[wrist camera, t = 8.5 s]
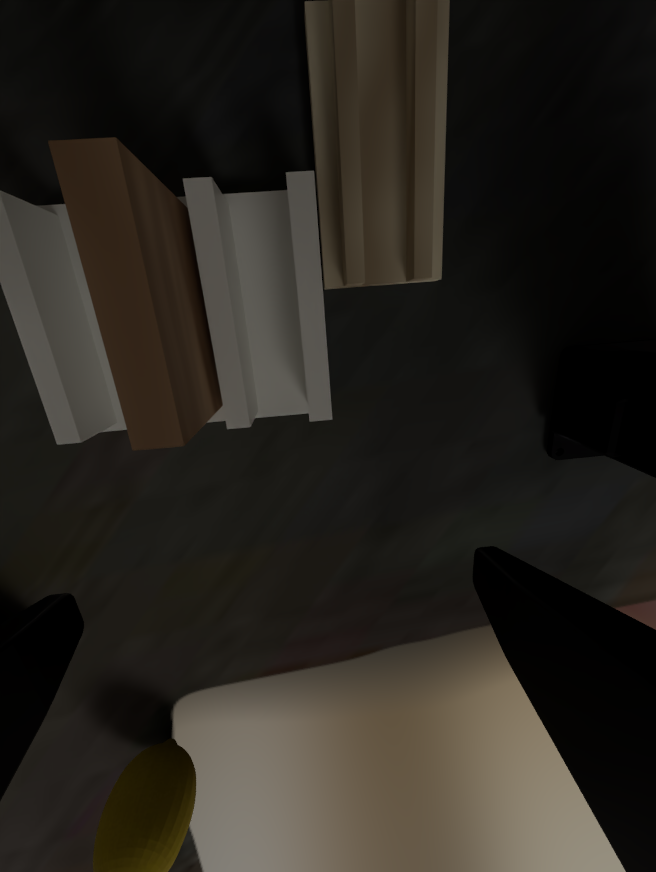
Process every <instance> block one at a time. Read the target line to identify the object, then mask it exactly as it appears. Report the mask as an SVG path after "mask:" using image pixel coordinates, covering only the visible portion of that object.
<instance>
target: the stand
mask: <svg viewBox="0 0 656 872" xmlns="http://www.w3.org/2000/svg"><path fill="white" fill-rule="evenodd" d="M449 2H450V0H327V1H305V14H304V19H305V33H306V47H307V61H308V75H309V88H310V102H311V116H312V130H313V144H314V157H315V171H316V185H317V199H318V213H319V226H320V240H321V254H322V268H323V282H324V289H336V288H349V287H363V286H376V285H389V284H402V283H416V282H429V281H437V280H440V279H441V277H442V243H443V209H444V174H445V140H446V105H447V71H448V37H449Z"/></svg>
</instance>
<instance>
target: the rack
mask: <svg viewBox="0 0 656 872" xmlns="http://www.w3.org/2000/svg"><path fill="white" fill-rule="evenodd" d="M286 180H287V190H280V191H265V192H249V193H233V194H222V193H221V191H220V189H219V188H218V186H217V185H216V183H215V182H214V180H213V178H212V177H201V178H184V179H183V183H184V189H185V195H186V196H185V197H177V198H178V199H179V200H180V201H181V202H182V203H183V204H184V205H185V206H186V207H187V208H188V211H189V217H190V223H191V228H192V234H193V240H194V245H195V251H196V256H197V262H198V268H199V273H200V279H201V284H202V290H203V296H204V301H205V307H206V313H207V318H208V324H209V329H210V335H211V341H212V346H213V352H214V357H215V363H216V369H217V374H218V380H219V386H220V391H221V397H222V402H223V406H222V407H221V408H220V409H219V410H218V411H217V412H216V413H215V414H214V415H213V416H212V417H211V418H210V420H209V421H208V422H217V421H226V425H227V429H234V428H245V427H251V425H252V423H253V421H254V419H255V418H261V417H272V416H283V415H294V414H305V413H309V420H310V422H311V421H322V420H332V409H331V395H330V382H329V368H328V355H327V341H326V327H325V314H324V300H323V287H322V273H321V260H320V246H319V232H318V219H317V205H316V192H315V178H314V171H300V172H286ZM0 283H1V286H2V289H3V291H4V294H5V297H6V300H7V303H8V306H9V309H10V311H11V314H12V317H13V320H14V323H15V326H16V328H17V331H18V334H19V337H20V340H21V343H22V346H23V348H24V351H25V354H26V357H27V360H28V363H29V366H30V368H31V371H32V374H33V377H34V380H35V383H36V385H37V388H38V391H39V394H40V397H41V400H42V403H43V405H44V408H45V411H46V414H47V417H48V420H49V422H50V425H51V428H52V431H53V434H54V437H55V440H56V442H57V445H59V444H70V443H81V442H83V441H85V440H87V439H89V438H90V437H92V436H94V435H96V434H98V433H100V432H106V431H117V430H127V428H126V424H125V420H124V417H123V413H122V409H121V406H120V402H119V398H118V395H117V391H116V387H115V384H114V380H113V377H112V373H111V369H110V366H109V362H108V358H107V355H106V351H105V347H104V344H103V340H102V336H101V333H100V329H99V325H98V322H97V318H96V314H95V311H94V307H93V304H92V300H91V296H90V293H89V289H88V285H87V282H86V278H85V274H84V271H83V267H82V263H81V260H80V256H79V252H78V249H77V245H76V242H75V238H74V234H73V231H72V227H71V223H70V220H69V216H68V212H67V209H66V205H65V204H58V205H42V206H35V205H33V204H30V203H28V202H26V201H24V200H21V199H19V198H17V197H14V196H12V195H10V194H7V193H5V192H3V191H1V190H0Z"/></svg>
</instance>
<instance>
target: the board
mask: <svg viewBox="0 0 656 872" xmlns="http://www.w3.org/2000/svg"><path fill="white" fill-rule="evenodd" d="M48 143H49V147H50V150H51V154H52V158H53V161H54V165H55V169H56V172H57V176H58V179H59V183H60V187H61V190H62V194H63V198H64V201H65V205H66V209H67V212H68V216H69V220H70V223H71V227H72V231H73V234H74V238H75V242H76V245H77V249H78V252H79V256H80V260H81V263H82V267H83V271H84V274H85V278H86V282H87V285H88V289H89V293H90V296H91V300H92V304H93V307H94V311H95V314H96V318H97V322H98V325H99V329H100V333H101V336H102V340H103V344H104V347H105V351H106V355H107V358H108V362H109V366H110V369H111V373H112V377H113V380H114V384H115V387H116V391H117V395H118V398H119V402H120V406H121V409H122V413H123V417H124V420H125V424H126V428H127V431H128V435H129V439H130V442H131V446H132V449H133V451H134V450H145V449H156V448H167V447H178V446H185V445H186V444H187V443H188V441H189V440H190V439H191V438H192V437H193V436H194V435H195V434H196V433H197V432H198V431H199V430H200V429H201V428H202V427H203V426H204V425H205V424H206V423H207V422H208V421H209V420H210V418H211V417H212V416H213V415H214V414H215V413H216V412H217V411H218V410H219V409H220V408H221V407H222V406H223V402H222V397H221V391H220V386H219V380H218V374H217V369H216V363H215V357H214V352H213V346H212V341H211V335H210V329H209V324H208V318H207V313H206V307H205V301H204V296H203V290H202V284H201V279H200V273H199V268H198V262H197V256H196V251H195V245H194V240H193V234H192V228H191V223H190V217H189V211H188V208H187V207H186V206H185V205H184V204H183V203H182V202H181V201H180V200H179V199H178V198H177V197H176V196H175V195H174V194H173V193H172V192H171V191H170V190H169V189H168V188H167V187H166V186H165V185H164V184H163V183H162V182H161V181H160V180H159V179H158V178H157V177H156V176H155V175H154V174H153V173H152V172H151V171H150V170H149V169H148V168H147V167H145V166H144V165H143V164H142V163H141V162H140V161H139V160H138V159H137V158H136V157H135V156H134V155H133V154H132V153H131V152H130V151H129V150H128V149H127V148H126V147H125V146H124V145H123V144H122V143H121V142H120V141H119V140H118V139H117V138H116V137H112V138H93V139H74V140H54V141H48Z"/></svg>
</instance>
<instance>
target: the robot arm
mask: <svg viewBox="0 0 656 872" xmlns="http://www.w3.org/2000/svg"><path fill="white" fill-rule="evenodd" d="M572 352H573V354H574V355H573V358H572V359H571V360H570V355H571V353H572ZM557 449H559V451H558V452H557V453H555V452H556V450H557ZM547 454H548V456H550V457H552V458H553V459H555V460H563V459H573V458H583V457H593V456H603V455H605V456H607V457H610V458H612V459H614V460H617V461H619V462H621V463H623V464H626V465H628V466H630V467H632V468H635V469H637V470H639V471H641V472H644V473H646V474H648V475H650V476H653V477H655V478H656V339H648V340H636V341H625V342H613V343H601V344H589V345H577V346H569V347H566V348H565V349H564V350H563V351H562V352H561V355H560V361H559V368H558V375H557V382H556V388H555V394H554V401H553V409H552V416H551V423H550V432H549V439H548V446H547ZM473 583H474V587H475V589H476V592H477V594H478V596H479V599H480V601H481V603H482V605H483V608H484V610H485V612H486V614H487V617H488V619H489V621H490V623H491V626H492V628H493V630H494V632H495V634H496V637H497V639H498V641H499V644H500V646H501V648H502V650H503V652H504V654H505V656H506V658H507V660H508V662H509V664H510V666H511V668H512V669H513V671H514V673H515V675H516V677H517V678H518V680H519V682H520V684H521V685H522V687H523V689H524V691H525V693H526V694H527V696H528V698H529V700H530V701H531V703H532V705H533V707H534V709H535V710H536V712H537V714H538V716H539V717H540V719H541V721H542V723H543V725H544V726H545V728H546V730H547V732H548V733H549V735H550V737H551V739H552V741H553V742H554V744H555V746H556V748H557V750H558V751H559V753H560V755H561V757H562V758H563V760H564V762H565V764H566V766H567V767H568V769H569V771H570V773H571V775H572V776H573V778H574V780H575V782H576V783H577V785H578V787H579V789H580V791H581V792H582V794H583V796H584V798H585V799H586V801H587V803H588V805H589V807H590V808H591V810H592V812H593V814H594V816H595V817H596V819H597V821H598V823H599V825H600V826H601V828H602V830H603V832H604V833H605V835H606V837H607V838H608V840H609V842H610V844H611V846H612V848H613V849H614V851H615V853H616V855H617V857H618V858H619V860H620V862H621V864H622V865H623V867H624V869H625V871H626V872H656V630H655V629H653V628H651V627H649V626H647V625H645V624H643V623H641V622H639V621H637V620H636V619H633V618H632V617H630V616H628V615H626V614H624V613H622V612H620V611H618V610H616V609H614V608H612V607H611V606H609V605H607V604H605V603H603V602H601V601H599V600H597V599H595V598H593V597H591V596H589V595H587V594H586V593H584V592H582V591H580V590H578V589H576V588H574V587H572V586H570V585H568V584H566V583H564V582H562V581H560V580H559V579H557V578H555V577H553V576H551V575H549V574H547V573H545V572H543V571H541V570H539V569H537V568H535V567H534V566H532V565H530V564H528V563H526V562H524V561H522V560H520V559H518V558H516V557H514V556H512V555H510V554H508V553H507V552H505V551H503V550H501V549H499V548H497V547H494V546H490V547H481V548H477V549H476V550H475V554H474V565H473ZM83 629H84V621H83V618H82V616H81V613H80V611H79V608H78V606H77V603H76V601H75V598H74V596H73V595H71V594H69V593H63V594H54V595H49V596H47V597H45V598H43V599H42V600H40V601H38V602H37V603H35V604H33V605H32V606H30V607H28V608H27V609H25V610H23V611H22V612H20V613H18V614H17V615H15V616H13V617H12V618H10V619H8V620H7V621H5V622H3V623H2V624H0V801H1V799H2V797H3V795H4V793H5V791H6V790H7V788H8V786H9V784H10V782H11V780H12V778H13V777H14V775H15V773H16V771H17V769H18V767H19V765H20V764H21V762H22V760H23V758H24V756H25V754H26V752H27V750H28V749H29V747H30V745H31V743H32V741H33V739H34V737H35V736H36V734H37V732H38V730H39V728H40V726H41V724H42V722H43V720H44V718H45V716H46V714H47V712H48V710H49V708H50V706H51V704H52V702H53V700H54V697H55V695H56V693H57V691H58V688H59V686H60V684H61V681H62V679H63V677H64V675H65V672H66V670H67V668H68V665H69V663H70V661H71V659H72V656H73V654H74V652H75V650H76V647H77V645H78V643H79V640H80V638H81V636H82V633H83Z"/></svg>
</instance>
